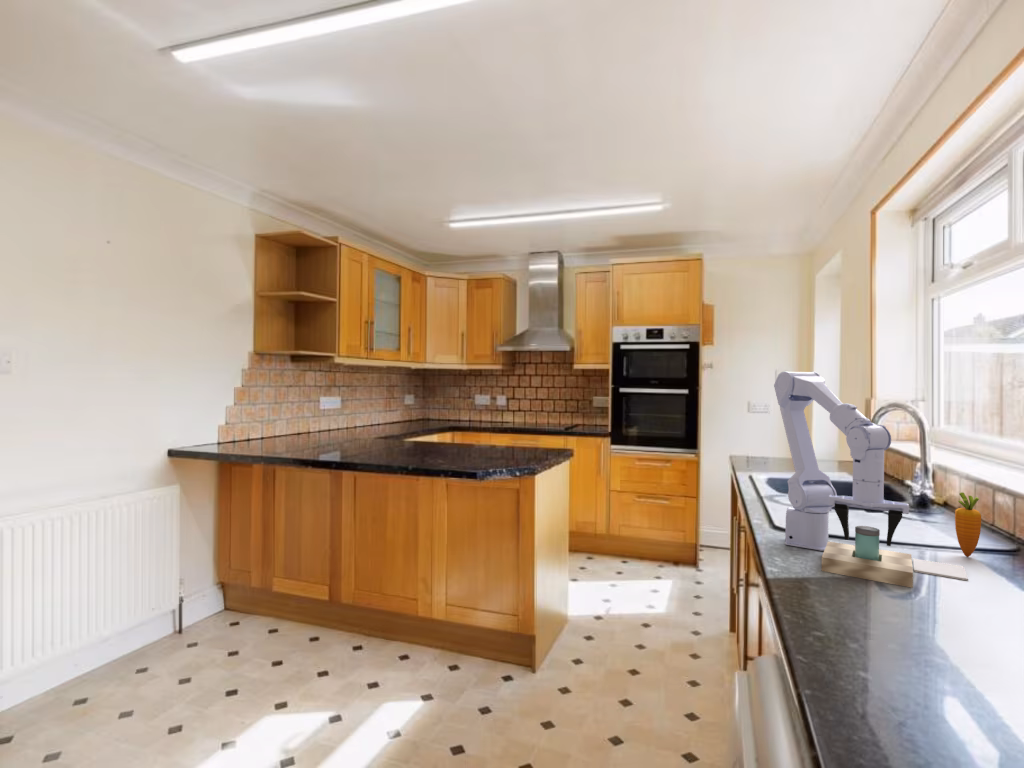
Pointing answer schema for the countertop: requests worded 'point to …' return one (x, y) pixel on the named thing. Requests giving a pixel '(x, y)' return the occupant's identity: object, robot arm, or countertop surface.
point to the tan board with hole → (868, 565)
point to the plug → (867, 542)
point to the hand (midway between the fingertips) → (867, 541)
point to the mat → (939, 569)
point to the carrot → (967, 525)
